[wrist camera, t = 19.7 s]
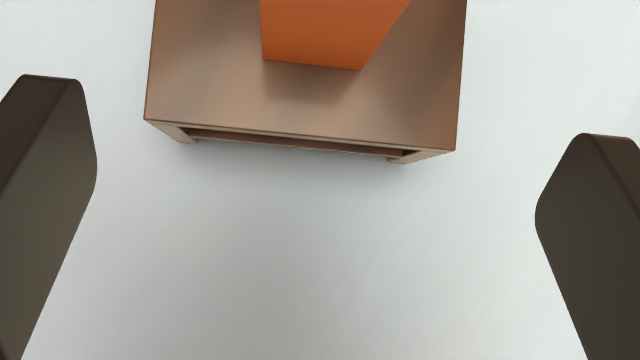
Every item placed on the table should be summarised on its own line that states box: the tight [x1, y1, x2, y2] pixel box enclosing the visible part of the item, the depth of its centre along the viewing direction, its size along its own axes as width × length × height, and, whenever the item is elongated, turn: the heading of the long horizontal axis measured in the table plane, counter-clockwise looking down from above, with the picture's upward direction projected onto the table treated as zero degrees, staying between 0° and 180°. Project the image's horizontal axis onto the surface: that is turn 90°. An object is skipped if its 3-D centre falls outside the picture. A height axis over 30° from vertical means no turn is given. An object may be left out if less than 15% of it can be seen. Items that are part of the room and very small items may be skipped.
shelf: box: [143, 0, 467, 164], centre depth 29 cm, size 14×11×9 cm
